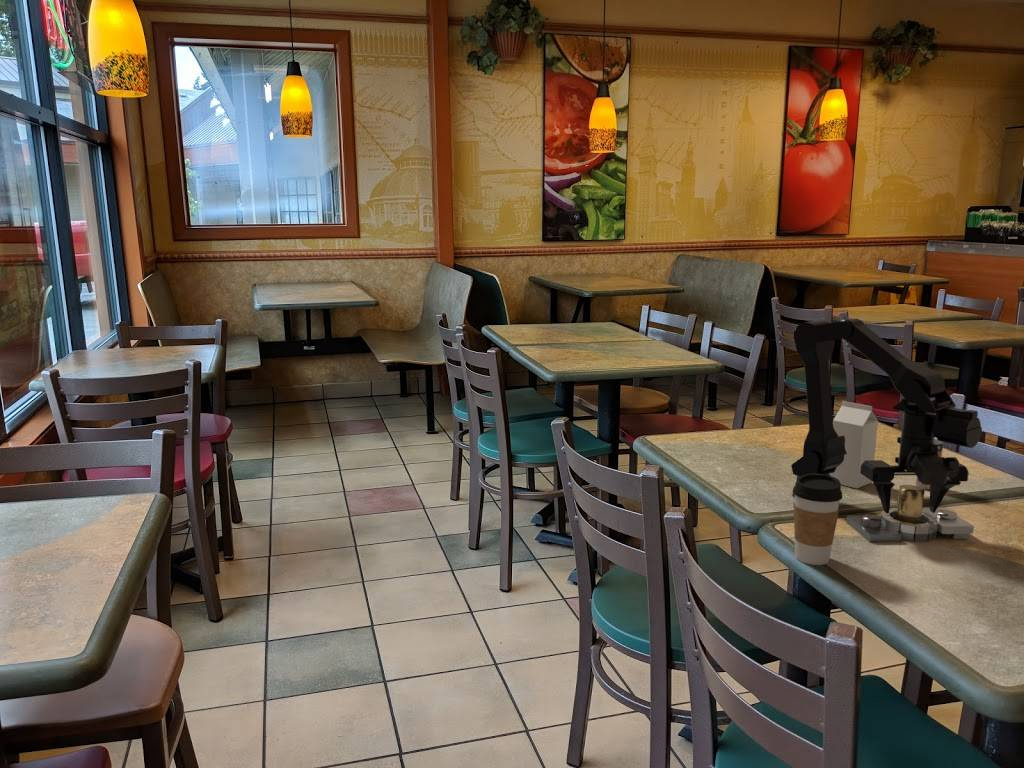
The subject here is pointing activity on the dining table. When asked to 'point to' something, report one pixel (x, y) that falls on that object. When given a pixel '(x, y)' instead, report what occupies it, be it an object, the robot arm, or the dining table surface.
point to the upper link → (931, 523)
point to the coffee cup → (815, 517)
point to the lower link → (883, 530)
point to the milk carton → (855, 442)
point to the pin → (910, 504)
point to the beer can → (940, 448)
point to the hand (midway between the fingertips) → (909, 512)
